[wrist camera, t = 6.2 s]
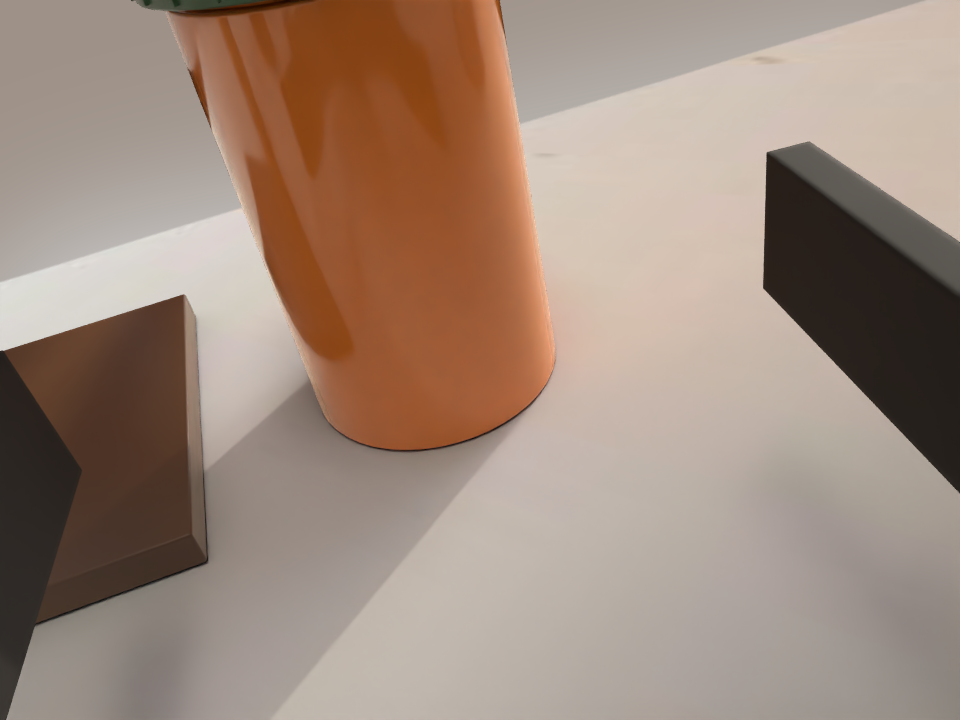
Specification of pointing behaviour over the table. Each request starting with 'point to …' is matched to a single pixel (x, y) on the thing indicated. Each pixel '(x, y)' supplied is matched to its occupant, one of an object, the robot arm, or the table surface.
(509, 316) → the jar
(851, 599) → the table surface
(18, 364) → the board
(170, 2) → the lid
